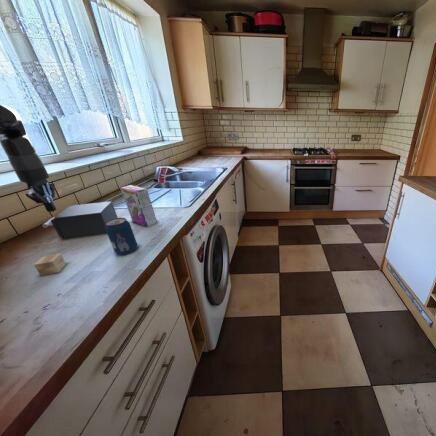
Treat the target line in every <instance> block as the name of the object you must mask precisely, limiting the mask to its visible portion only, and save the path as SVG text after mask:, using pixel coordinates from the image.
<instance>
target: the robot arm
mask: <svg viewBox="0 0 436 436" xmlns="http://www.w3.org/2000/svg"><path fill="white" fill-rule="evenodd" d="M0 146H1V148H2V150H3V151H4V153H5V155H6V156H7V159H8V162H9V164H10V166H11V167H12V169H13V171H14V173H15V174H16V176H17V178H18V180H19V181H20V182H21V183H25V184H26V186H27V190H28V192H26V193H25V196H26V197H27V198H28V199H30V200H31V201H34V202H35V204H42V205H43V206H44V208H45V210H46V211H47V212H48V213H52V212H55V211H56V210H57V208H56V205H55V204H54V202H53V201H54V199H55V197H56V193H55V192H56V189H55V188H56V187H55V184H54V183H49V181H48V180H47V179H49V178H50V174H49V173H48V171H47V169H46V167H45V165H44V163H43V161H42V159H41V157H40V156H39V154H38V153H37V152H36V149H35V147H34V145H33V144H32V142H31V140H30V138H29V137H28V133H27V130H26V127H25V125H24V123H23V120H22V118H21V116H20V115H19V113H18V112H17V111H16V110H14V109H13V108H12V107H9V106H8V105H4V104H1V103H0Z"/></svg>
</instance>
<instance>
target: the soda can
mask: <svg viewBox="0 0 436 436" xmlns="http://www.w3.org/2000/svg"><path fill="white" fill-rule="evenodd" d="M105 230H106V232H107V237H108V239H109V241H110V244H111V246H112V249H113V251H114V252H115V253H116V254H117V255H120V256H125V255H129V254H131V253H134V252H135V251H136V250H137V249H138V242H137V239H136V236H135V233H134V230H133V228H132V225H131V222H130V221H128V220H127V217H118V218H115V219H112V220H109V221H107V222H106V227H105Z"/></svg>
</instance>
